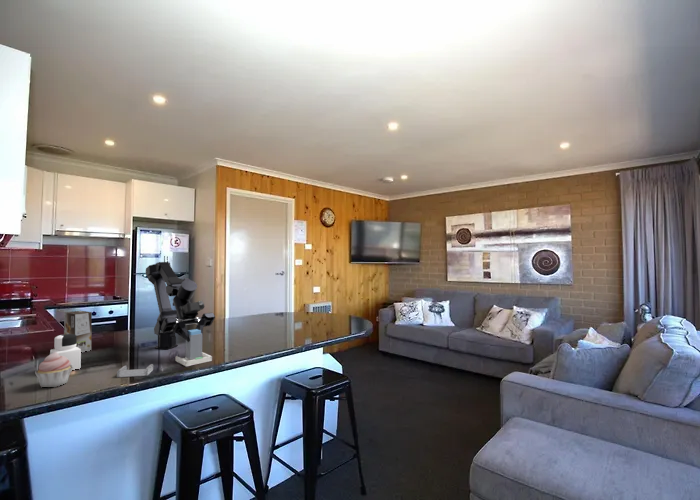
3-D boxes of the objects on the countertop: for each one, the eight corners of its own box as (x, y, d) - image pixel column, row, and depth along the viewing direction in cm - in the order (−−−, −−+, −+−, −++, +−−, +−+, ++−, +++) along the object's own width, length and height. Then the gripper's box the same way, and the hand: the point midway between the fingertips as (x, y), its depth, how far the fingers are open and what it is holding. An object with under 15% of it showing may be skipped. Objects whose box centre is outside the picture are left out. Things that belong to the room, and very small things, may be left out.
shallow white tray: (124, 371, 123) (124, 365, 123) (153, 369, 125) (153, 364, 125) (116, 377, 117) (116, 371, 117) (147, 375, 119) (147, 369, 119)
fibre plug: (185, 357, 136) (185, 330, 136) (197, 354, 139) (197, 328, 139) (190, 359, 133) (190, 332, 133) (202, 357, 136) (202, 330, 136)
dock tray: (175, 360, 136) (175, 355, 136) (200, 355, 143) (200, 350, 143) (186, 366, 129) (186, 360, 129) (211, 360, 136) (212, 355, 136)
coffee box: (92, 350, 149) (92, 311, 150) (74, 354, 144) (75, 314, 144) (80, 347, 154) (80, 310, 154) (62, 351, 148) (63, 312, 148)
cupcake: (81, 379, 115) (81, 348, 115) (55, 390, 106) (56, 356, 106) (53, 379, 115) (53, 347, 115) (25, 390, 106) (25, 356, 106)
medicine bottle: (74, 365, 130) (75, 331, 130) (80, 369, 125) (81, 334, 125) (49, 370, 124) (50, 335, 124) (54, 374, 120) (55, 338, 120)
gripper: (164, 296, 132) (175, 331, 124) (213, 292, 146) (226, 323, 138) (156, 315, 137) (166, 349, 130) (204, 309, 151) (216, 340, 143)
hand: (195, 340), depth 135 cm, fingers closed on fibre plug, 4 cm apart
